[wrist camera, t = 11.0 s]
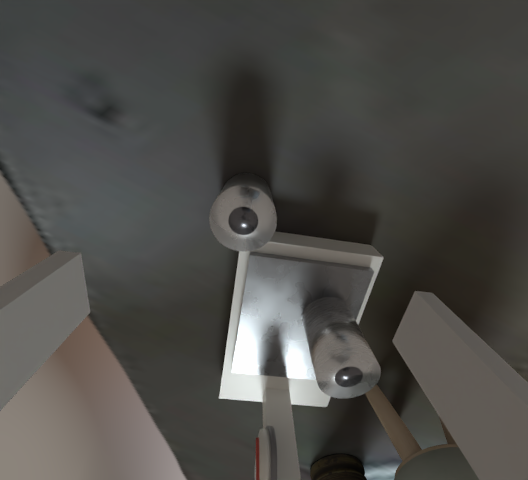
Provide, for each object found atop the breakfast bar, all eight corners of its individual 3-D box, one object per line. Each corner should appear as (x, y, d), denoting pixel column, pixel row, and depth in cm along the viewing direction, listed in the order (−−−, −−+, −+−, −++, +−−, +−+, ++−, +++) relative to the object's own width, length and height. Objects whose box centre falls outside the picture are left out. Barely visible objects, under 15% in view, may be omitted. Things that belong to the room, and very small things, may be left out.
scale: (242, 226, 26) (230, 316, 14) (371, 244, 28) (471, 342, 15) (220, 387, 36) (200, 532, 23) (318, 395, 37) (351, 537, 24)
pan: (250, 251, 24) (249, 255, 23) (370, 267, 25) (374, 271, 24) (232, 366, 30) (231, 372, 29) (331, 375, 31) (333, 381, 30)
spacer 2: (356, 299, 26) (390, 356, 19) (342, 337, 28) (369, 401, 21) (307, 294, 25) (325, 350, 19) (297, 333, 27) (310, 396, 21)
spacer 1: (224, 168, 24) (212, 182, 18) (275, 177, 25) (282, 193, 18) (219, 218, 26) (206, 247, 20) (267, 225, 26) (270, 255, 20)
